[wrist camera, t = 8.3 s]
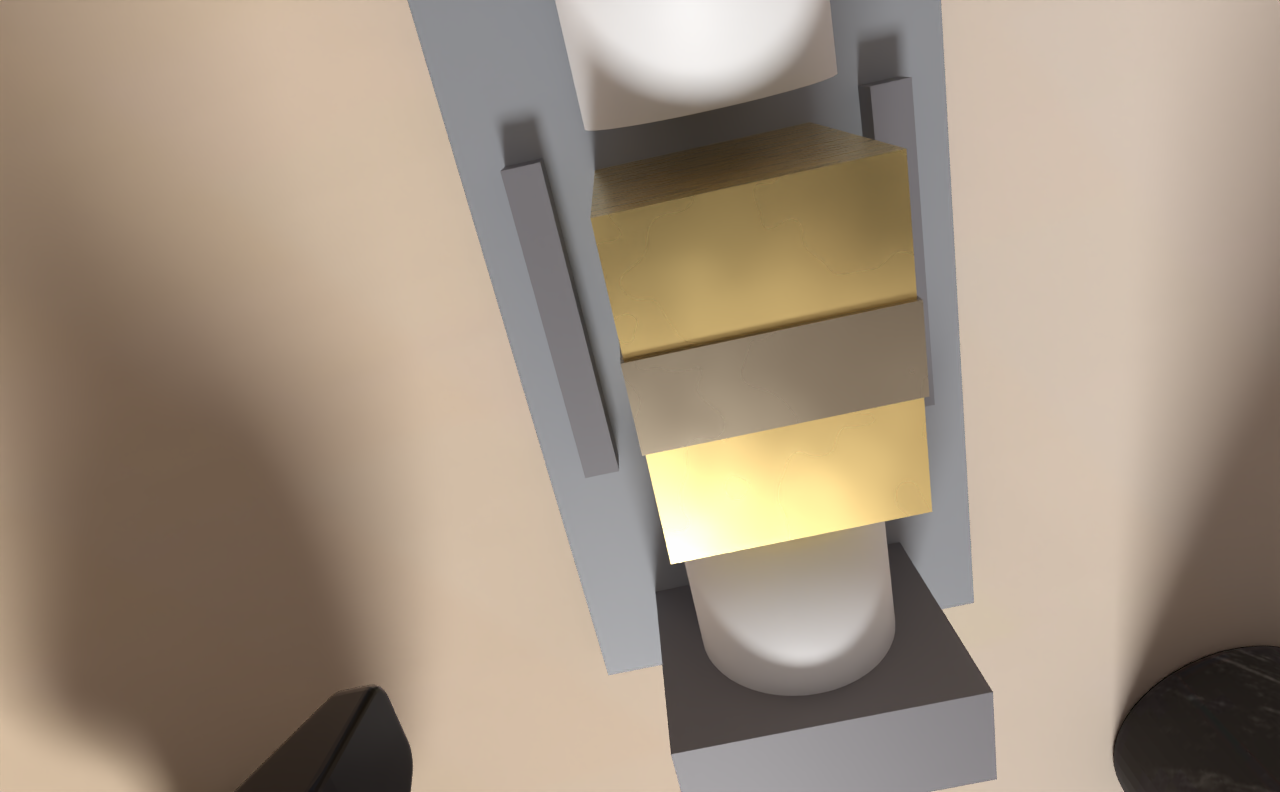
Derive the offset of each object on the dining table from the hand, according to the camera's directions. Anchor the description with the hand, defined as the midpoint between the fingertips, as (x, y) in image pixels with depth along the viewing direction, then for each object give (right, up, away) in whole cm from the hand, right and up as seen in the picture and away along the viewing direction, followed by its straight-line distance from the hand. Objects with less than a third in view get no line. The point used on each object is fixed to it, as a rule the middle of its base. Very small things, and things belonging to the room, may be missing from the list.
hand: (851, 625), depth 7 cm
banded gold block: (0, +5, +10) cm, 11 cm away
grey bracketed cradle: (0, +5, +11) cm, 12 cm away
